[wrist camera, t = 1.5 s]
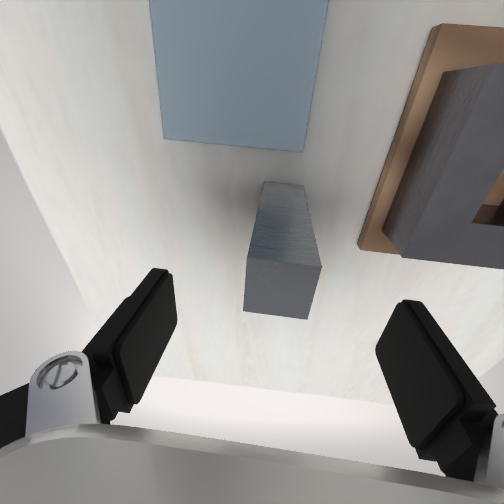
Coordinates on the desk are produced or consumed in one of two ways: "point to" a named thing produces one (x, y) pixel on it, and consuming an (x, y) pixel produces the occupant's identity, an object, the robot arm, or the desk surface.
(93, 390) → the robot arm
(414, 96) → the stand
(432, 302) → the desk surface
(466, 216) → the block
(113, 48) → the desk surface
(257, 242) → the key peg
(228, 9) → the mat
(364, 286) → the desk surface
